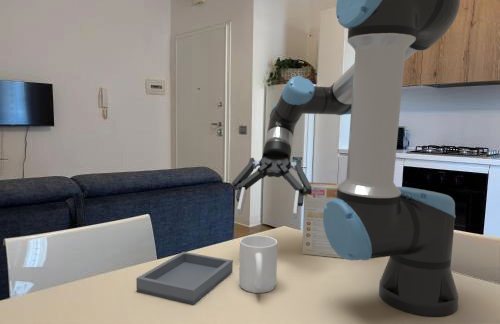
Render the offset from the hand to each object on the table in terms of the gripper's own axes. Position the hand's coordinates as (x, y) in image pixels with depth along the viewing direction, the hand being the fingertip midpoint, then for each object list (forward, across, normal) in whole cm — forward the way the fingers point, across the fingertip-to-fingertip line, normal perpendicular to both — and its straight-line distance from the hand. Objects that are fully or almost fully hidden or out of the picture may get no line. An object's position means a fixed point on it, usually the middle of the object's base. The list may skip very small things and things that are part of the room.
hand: (266, 214), depth 91 cm
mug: (+18, 0, -3) cm, 18 cm away
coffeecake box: (-2, -15, -23) cm, 27 cm away
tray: (+18, +16, -3) cm, 24 cm away
